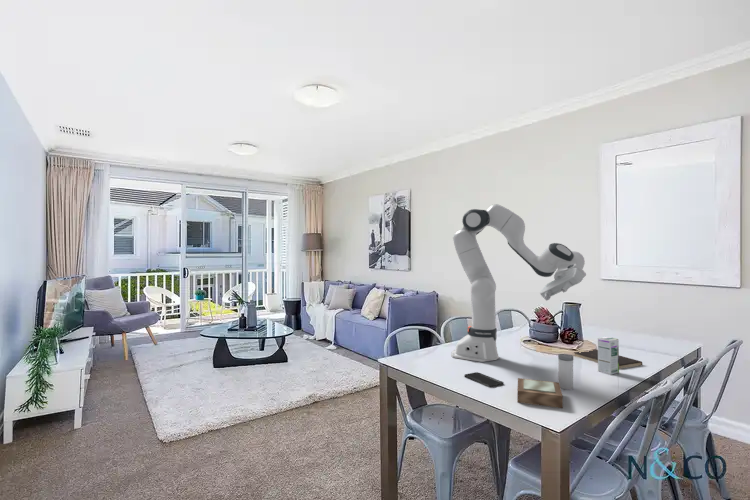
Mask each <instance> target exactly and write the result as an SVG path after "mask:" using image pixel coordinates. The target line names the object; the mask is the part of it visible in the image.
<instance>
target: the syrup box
mask: <svg viewBox="0 0 750 500" xmlns="http://www.w3.org/2000/svg"><path fill="white" fill-rule="evenodd" d="M619 341H620V340H619V339H618V338H616V337H610V336H603V337H598V338H597V350H598V363H597V372H600V373H602V374H606V375H610V376H611V375H613V374H614V375H615V374H619V373H620V369H619V356H620V352H619V350H620V349H619V348H620V346H619V344H620V342H619Z"/></svg>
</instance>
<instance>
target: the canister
mask: <svg viewBox="0 0 750 500" xmlns="http://www.w3.org/2000/svg"><path fill="white" fill-rule="evenodd" d="M557 358H558V366H557V367H558V378H557V380H558V383H559V385H560V388H561V390H565V391H566V390H568V391H570V390H572V391H573V390H574V355H571V354H567V353H559V354H558V356H557Z"/></svg>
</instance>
